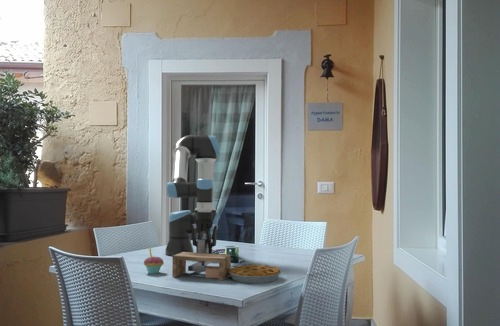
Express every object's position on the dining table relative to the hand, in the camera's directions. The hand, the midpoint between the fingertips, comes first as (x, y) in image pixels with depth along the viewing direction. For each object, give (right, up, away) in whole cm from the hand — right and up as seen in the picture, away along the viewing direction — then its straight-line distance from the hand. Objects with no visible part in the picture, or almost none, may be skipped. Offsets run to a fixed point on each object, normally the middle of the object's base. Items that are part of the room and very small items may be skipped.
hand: (204, 261), depth 250 cm
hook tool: (+1, -1, -7) cm, 7 cm away
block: (+6, -3, -22) cm, 23 cm away
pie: (+24, -3, -26) cm, 35 cm away
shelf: (+1, -2, -22) cm, 22 cm away
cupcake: (-21, -3, -15) cm, 26 cm away
